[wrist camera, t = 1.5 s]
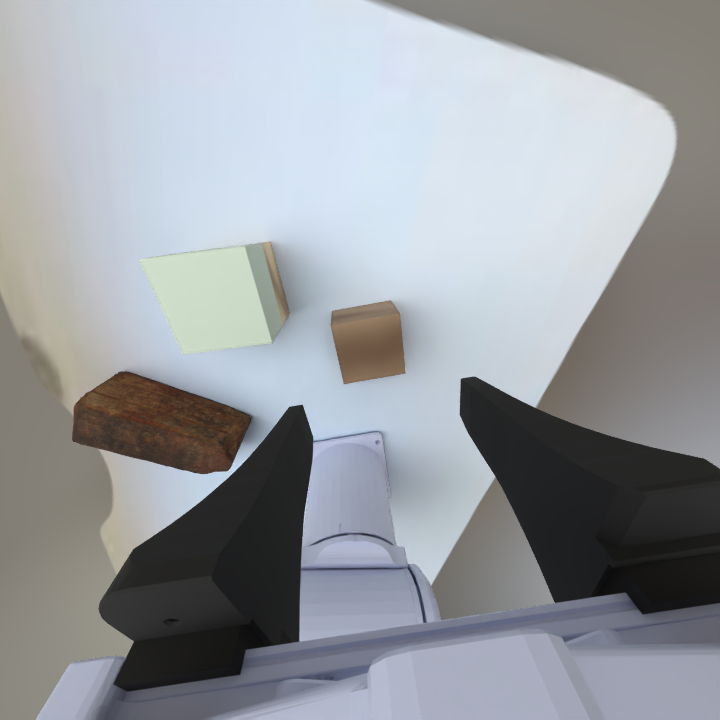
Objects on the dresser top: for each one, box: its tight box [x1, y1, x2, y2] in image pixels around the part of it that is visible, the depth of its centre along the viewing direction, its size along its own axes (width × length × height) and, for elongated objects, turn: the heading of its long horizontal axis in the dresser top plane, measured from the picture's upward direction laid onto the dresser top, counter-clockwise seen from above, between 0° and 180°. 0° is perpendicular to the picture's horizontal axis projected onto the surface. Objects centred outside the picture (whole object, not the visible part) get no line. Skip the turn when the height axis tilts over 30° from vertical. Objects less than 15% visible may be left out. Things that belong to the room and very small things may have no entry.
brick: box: [72, 371, 251, 474], centre depth 21 cm, size 11×4×5 cm, turn 62°
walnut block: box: [331, 301, 405, 384], centre depth 20 cm, size 4×4×4 cm
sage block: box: [139, 243, 283, 354], centre depth 15 cm, size 5×5×3 cm
